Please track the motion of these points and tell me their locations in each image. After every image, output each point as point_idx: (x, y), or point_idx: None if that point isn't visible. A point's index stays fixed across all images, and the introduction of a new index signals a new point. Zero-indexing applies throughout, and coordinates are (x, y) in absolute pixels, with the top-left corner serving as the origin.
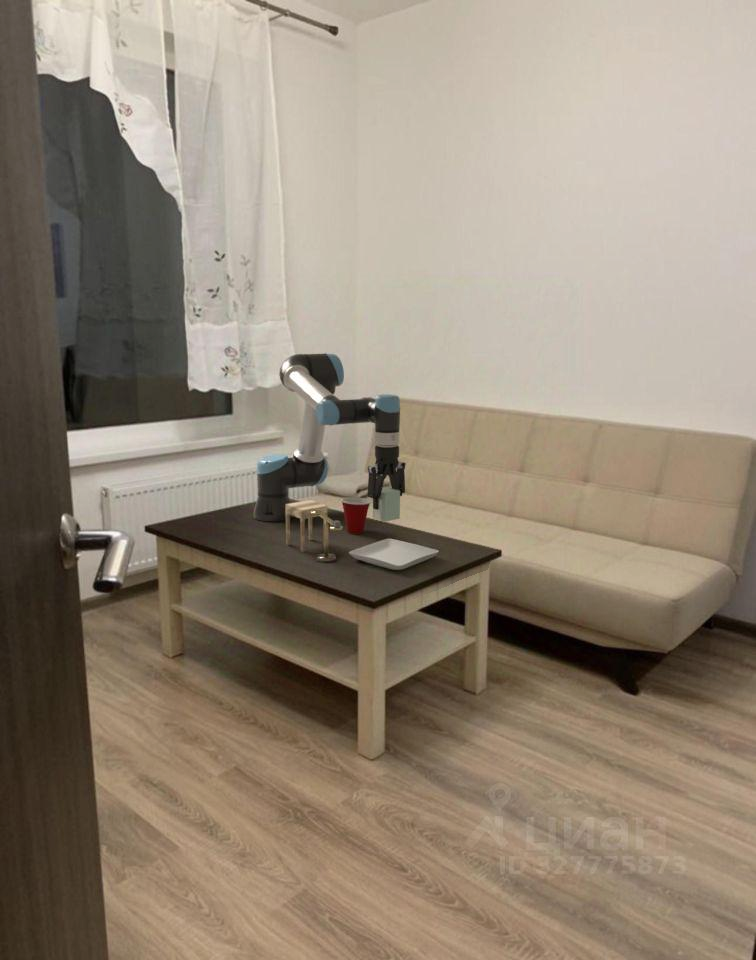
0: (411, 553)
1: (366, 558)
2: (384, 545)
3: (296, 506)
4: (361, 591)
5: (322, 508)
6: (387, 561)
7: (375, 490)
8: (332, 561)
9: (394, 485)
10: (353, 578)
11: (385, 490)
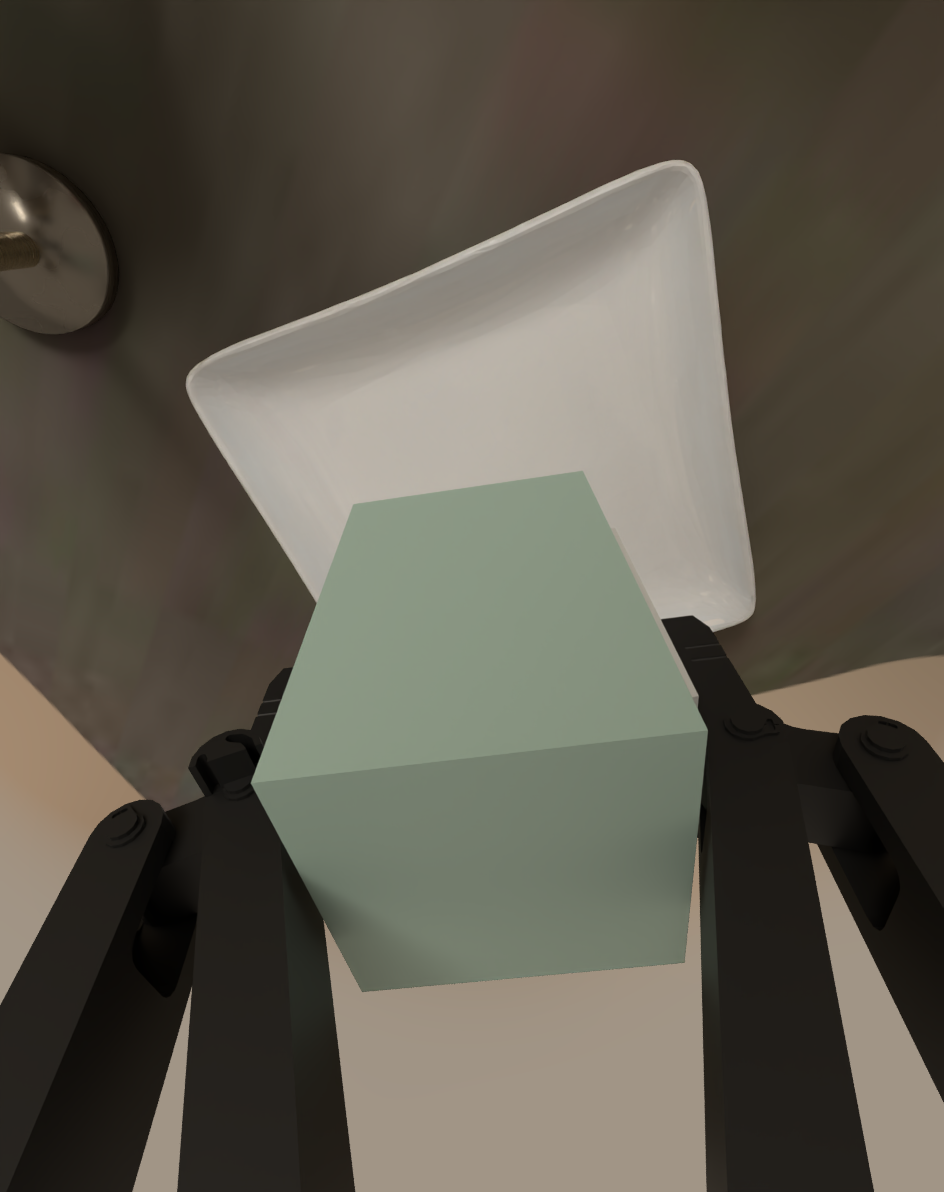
0: (652, 476)
1: (282, 524)
2: (585, 241)
3: None
4: (158, 761)
5: None
6: None
7: (177, 1018)
8: (81, 328)
9: (703, 978)
10: (159, 638)
11: (476, 884)
